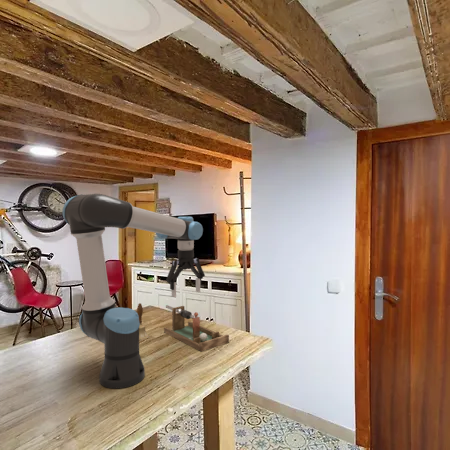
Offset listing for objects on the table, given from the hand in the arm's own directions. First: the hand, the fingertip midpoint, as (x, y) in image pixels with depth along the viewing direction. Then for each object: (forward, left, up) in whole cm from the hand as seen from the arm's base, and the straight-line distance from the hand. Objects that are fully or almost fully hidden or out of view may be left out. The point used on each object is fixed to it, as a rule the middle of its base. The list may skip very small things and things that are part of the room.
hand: (186, 294), depth 158 cm
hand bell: (-18, +12, -20) cm, 29 cm away
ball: (0, -14, -18) cm, 23 cm away
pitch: (0, -7, -20) cm, 21 cm away
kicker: (0, +4, -18) cm, 18 cm away
